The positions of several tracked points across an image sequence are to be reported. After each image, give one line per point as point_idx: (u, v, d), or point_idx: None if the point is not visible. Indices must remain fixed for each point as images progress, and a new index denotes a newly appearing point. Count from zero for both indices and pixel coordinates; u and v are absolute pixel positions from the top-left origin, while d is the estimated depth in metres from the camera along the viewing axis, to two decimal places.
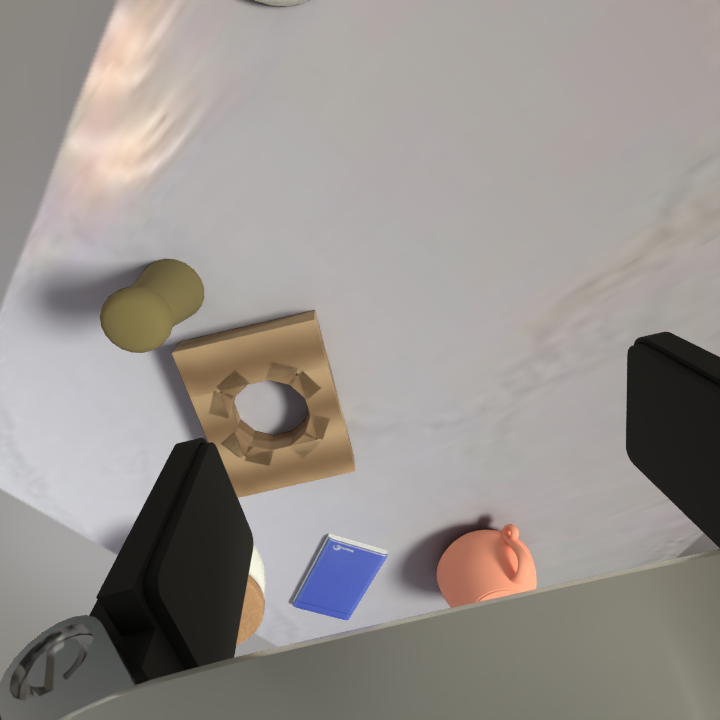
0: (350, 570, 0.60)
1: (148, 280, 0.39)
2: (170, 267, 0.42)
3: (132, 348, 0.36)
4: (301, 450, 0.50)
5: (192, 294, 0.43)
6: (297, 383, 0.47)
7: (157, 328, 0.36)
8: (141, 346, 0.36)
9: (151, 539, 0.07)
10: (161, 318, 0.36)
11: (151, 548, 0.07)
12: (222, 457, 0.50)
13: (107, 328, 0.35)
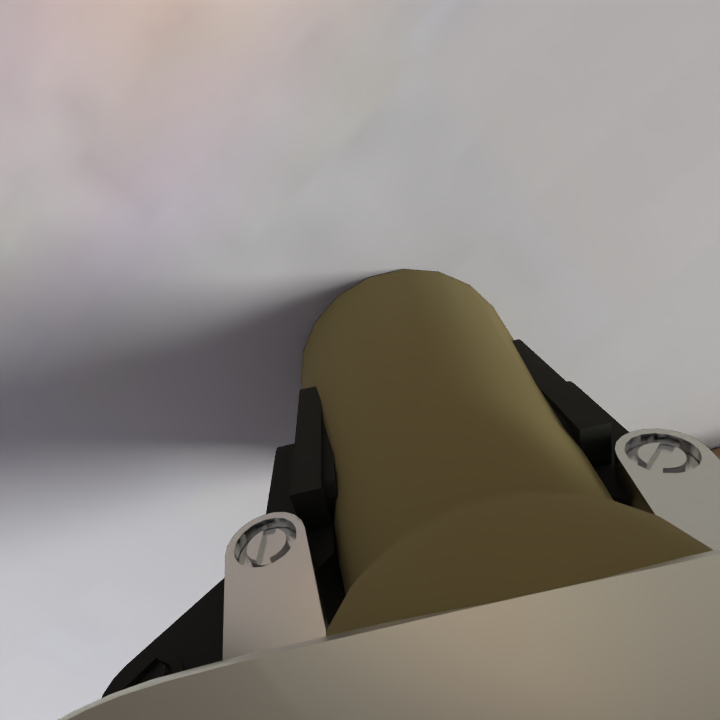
0: None
1: (475, 391, 0.07)
2: (463, 307, 0.11)
3: None
4: None
5: None
6: None
7: None
8: None
9: (316, 456, 0.08)
10: None
11: (320, 461, 0.08)
12: None
13: None
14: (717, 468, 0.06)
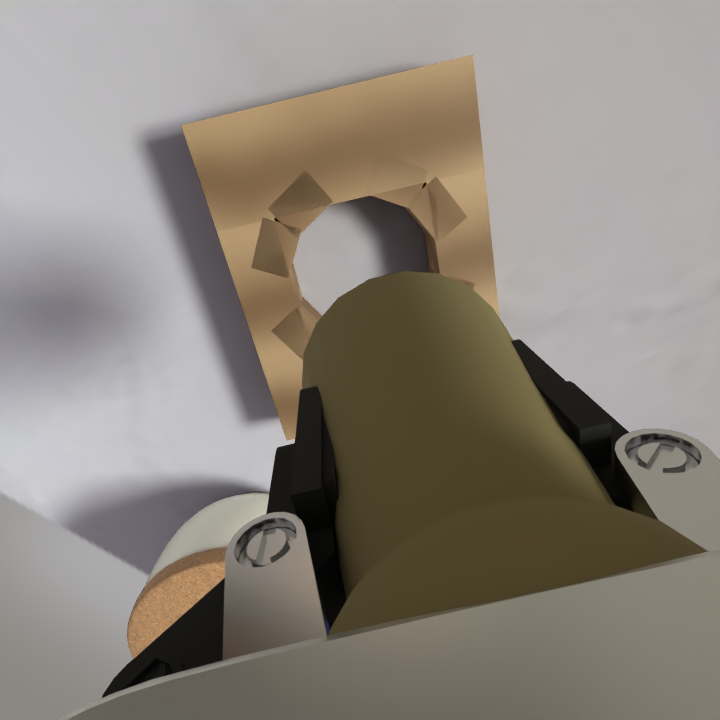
0: None
1: (474, 394, 0.07)
2: (463, 309, 0.11)
3: None
4: None
5: None
6: (423, 205, 0.24)
7: None
8: None
9: (316, 456, 0.08)
10: None
11: (320, 461, 0.08)
12: (273, 359, 0.27)
13: None
14: (717, 468, 0.06)
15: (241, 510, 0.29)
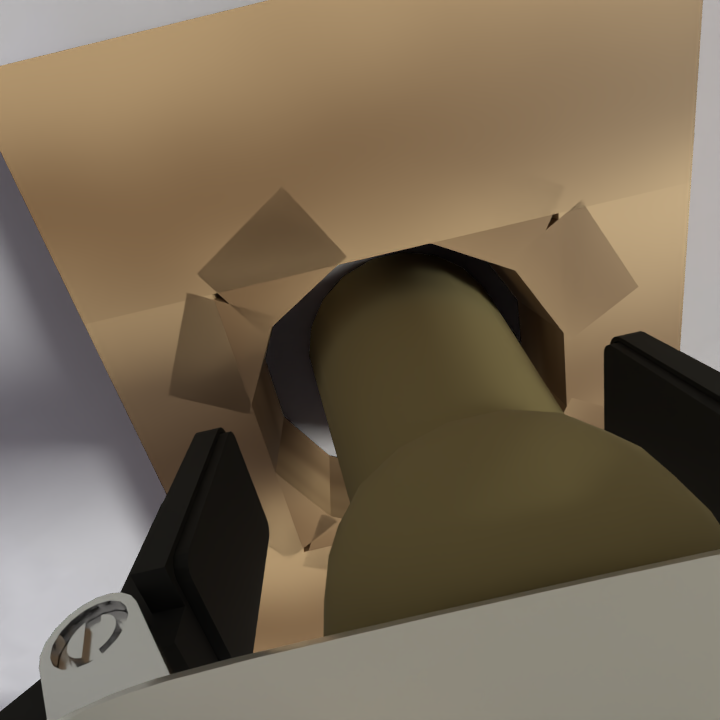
0: None
1: (463, 346, 0.09)
2: (456, 284, 0.12)
3: None
4: None
5: None
6: (547, 263, 0.11)
7: None
8: None
9: (179, 521, 0.07)
10: None
11: (179, 529, 0.07)
12: None
13: None
14: None
15: None
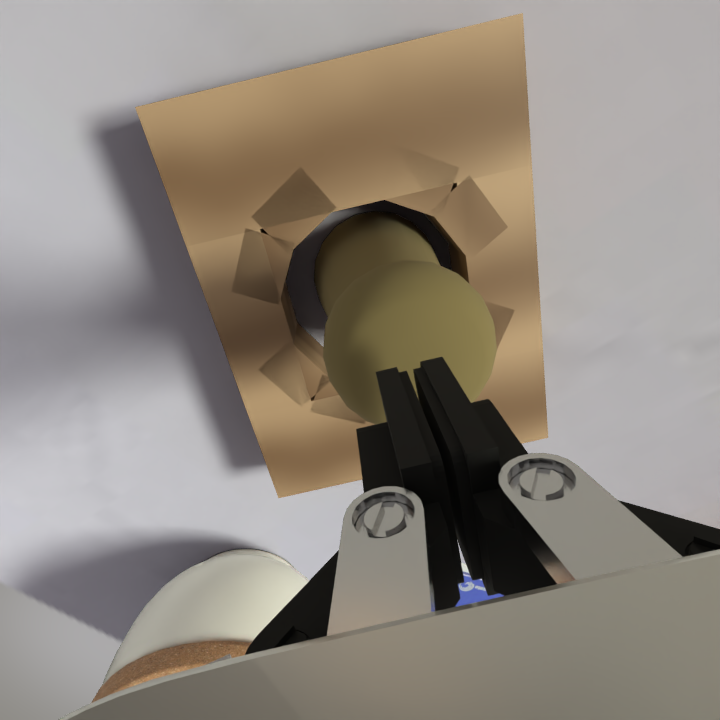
0: None
1: (396, 249, 0.17)
2: (402, 227, 0.20)
3: None
4: None
5: None
6: (452, 212, 0.19)
7: (483, 373, 0.13)
8: None
9: (415, 432, 0.08)
10: (493, 346, 0.13)
11: (422, 437, 0.08)
12: (261, 403, 0.22)
13: (354, 373, 0.13)
14: (591, 486, 0.06)
15: (223, 583, 0.24)
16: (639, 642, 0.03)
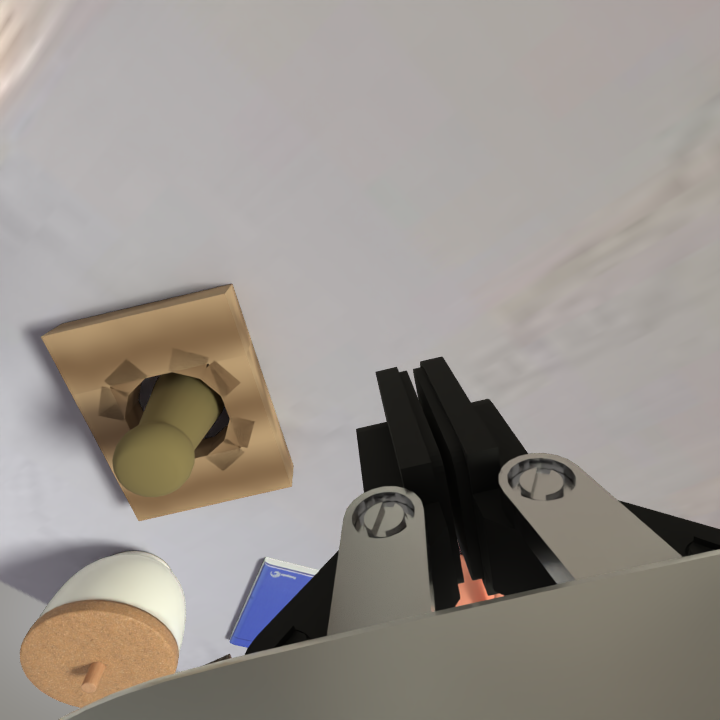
0: None
1: (166, 404, 0.35)
2: (189, 380, 0.38)
3: (148, 495, 0.31)
4: (221, 461, 0.40)
5: (213, 409, 0.38)
6: (209, 376, 0.37)
7: (178, 474, 0.31)
8: (159, 493, 0.31)
9: (415, 433, 0.08)
10: (183, 462, 0.31)
11: (422, 437, 0.08)
12: None
13: (120, 475, 0.31)
14: (591, 486, 0.06)
15: (106, 570, 0.41)
16: (639, 642, 0.03)
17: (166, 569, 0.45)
